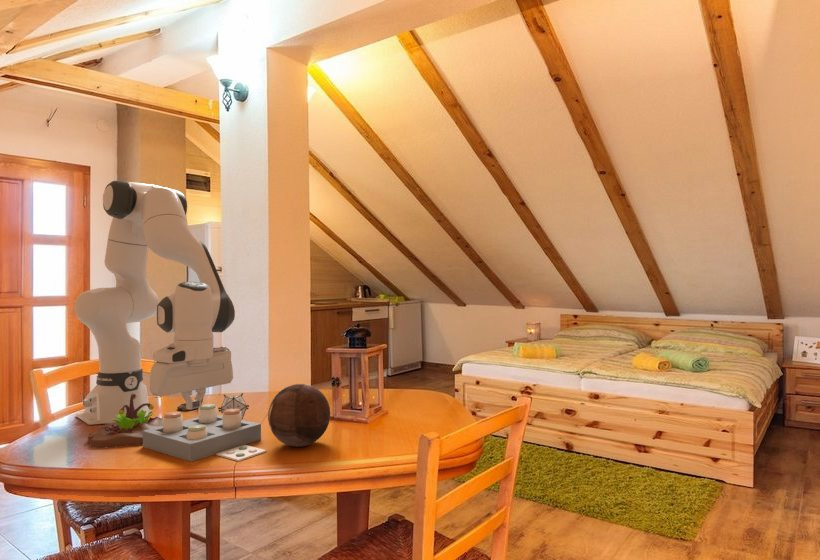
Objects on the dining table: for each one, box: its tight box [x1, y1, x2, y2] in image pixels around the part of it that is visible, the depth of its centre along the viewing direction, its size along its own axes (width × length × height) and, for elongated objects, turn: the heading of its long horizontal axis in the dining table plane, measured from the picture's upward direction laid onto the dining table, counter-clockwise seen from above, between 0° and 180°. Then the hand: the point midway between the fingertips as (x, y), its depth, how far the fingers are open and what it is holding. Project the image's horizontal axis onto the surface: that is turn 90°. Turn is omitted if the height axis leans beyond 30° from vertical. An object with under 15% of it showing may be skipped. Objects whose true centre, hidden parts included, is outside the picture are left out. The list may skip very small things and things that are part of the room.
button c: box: [187, 425, 207, 441], centre depth 133 cm, size 5×5×6 cm
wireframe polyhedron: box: [217, 392, 250, 420], centre depth 159 cm, size 9×8×10 cm
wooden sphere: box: [267, 383, 331, 448], centre depth 137 cm, size 15×15×15 cm
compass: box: [176, 398, 204, 412], centre depth 176 cm, size 8×8×7 cm
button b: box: [197, 403, 218, 424], centre depth 147 cm, size 5×5×6 cm
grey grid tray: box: [142, 414, 262, 462], centre depth 140 cm, size 20×20×4 cm
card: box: [216, 444, 267, 462], centre depth 131 cm, size 8×8×1 cm
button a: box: [162, 411, 184, 434], centre depth 139 cm, size 5×5×6 cm
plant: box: [87, 393, 163, 449], centre depth 148 cm, size 20×20×11 cm
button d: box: [221, 409, 242, 430], centre depth 141 cm, size 5×5×6 cm
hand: (193, 408), depth 133 cm, fingers closed
